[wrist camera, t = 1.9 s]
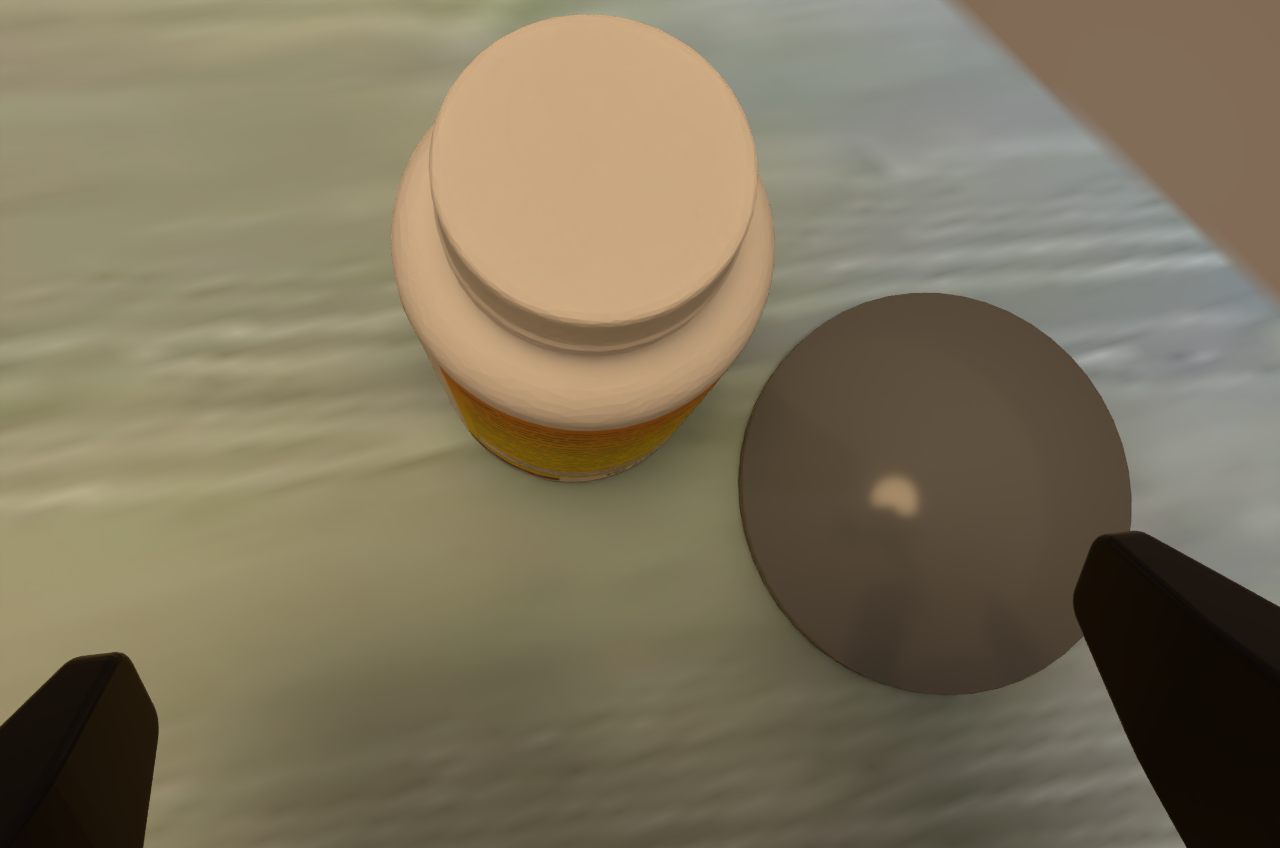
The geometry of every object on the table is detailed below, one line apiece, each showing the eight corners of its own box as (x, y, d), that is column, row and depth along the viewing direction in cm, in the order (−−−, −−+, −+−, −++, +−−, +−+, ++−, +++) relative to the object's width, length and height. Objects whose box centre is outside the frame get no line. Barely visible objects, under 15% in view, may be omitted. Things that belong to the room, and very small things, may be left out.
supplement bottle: (735, 419, 21) (907, 276, 11) (512, 528, 20) (481, 479, 10) (626, 206, 22) (698, -112, 12) (404, 302, 21) (276, 47, 11)
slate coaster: (1180, 431, 22) (1194, 427, 22) (1009, 771, 21) (1020, 775, 20) (860, 228, 22) (867, 220, 22) (663, 551, 21) (666, 550, 20)
